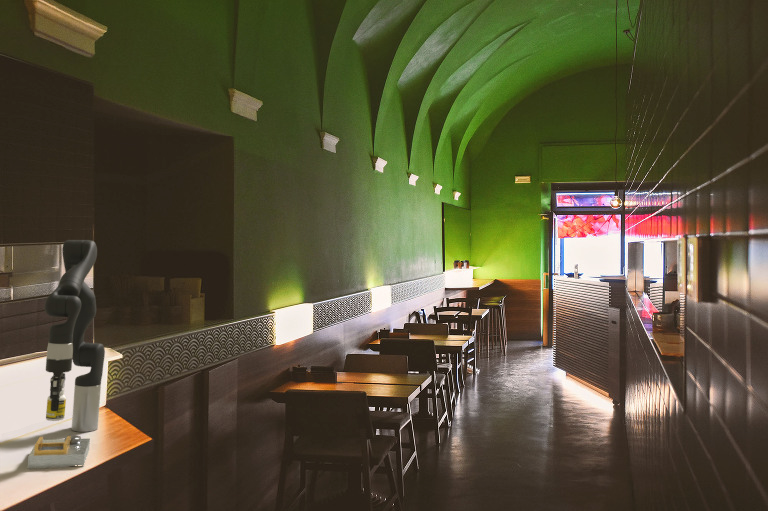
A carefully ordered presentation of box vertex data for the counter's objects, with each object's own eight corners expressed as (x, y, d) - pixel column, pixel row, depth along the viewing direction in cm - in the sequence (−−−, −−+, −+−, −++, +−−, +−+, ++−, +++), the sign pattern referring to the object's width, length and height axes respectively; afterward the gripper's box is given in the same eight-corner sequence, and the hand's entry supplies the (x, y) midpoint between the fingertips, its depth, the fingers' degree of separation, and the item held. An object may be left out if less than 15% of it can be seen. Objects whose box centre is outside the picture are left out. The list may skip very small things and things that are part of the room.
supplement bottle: (56, 422, 204) (58, 391, 204) (41, 420, 205) (44, 389, 205) (68, 418, 209) (70, 388, 209) (53, 416, 210) (56, 386, 211)
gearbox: (37, 451, 216) (38, 431, 216) (89, 450, 222) (90, 429, 222) (27, 468, 199) (29, 446, 199) (83, 466, 205) (85, 444, 205)
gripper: (50, 353, 213) (46, 403, 213) (43, 360, 199) (39, 414, 199) (74, 353, 215) (71, 403, 215) (69, 360, 202) (65, 413, 202)
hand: (55, 408), depth 207 cm, fingers closed on supplement bottle, 5 cm apart
